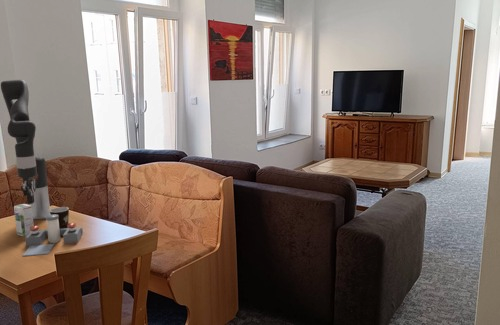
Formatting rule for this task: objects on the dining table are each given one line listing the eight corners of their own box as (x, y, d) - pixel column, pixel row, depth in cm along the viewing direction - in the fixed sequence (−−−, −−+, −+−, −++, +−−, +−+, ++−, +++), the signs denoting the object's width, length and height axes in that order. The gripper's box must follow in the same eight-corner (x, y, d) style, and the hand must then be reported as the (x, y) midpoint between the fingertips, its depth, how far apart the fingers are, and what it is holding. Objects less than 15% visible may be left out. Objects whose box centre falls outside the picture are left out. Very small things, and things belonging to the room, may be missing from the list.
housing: (34, 236, 188) (33, 228, 187) (82, 232, 192) (82, 225, 192) (26, 246, 177) (25, 237, 176) (77, 241, 181) (77, 233, 181)
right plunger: (69, 231, 185) (68, 223, 184) (77, 230, 186) (76, 222, 185) (67, 234, 182) (66, 225, 181) (75, 233, 183) (74, 225, 182)
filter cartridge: (50, 238, 185) (47, 214, 183) (62, 237, 186) (59, 214, 184) (46, 243, 180) (43, 218, 177) (59, 242, 181) (56, 217, 179)
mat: (30, 246, 176) (30, 245, 176) (54, 244, 179) (54, 243, 178) (22, 256, 167) (22, 255, 167) (47, 254, 169) (47, 253, 169)
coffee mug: (65, 224, 204) (63, 205, 202) (73, 227, 199) (71, 209, 197) (42, 230, 195) (40, 211, 193) (50, 234, 190) (48, 215, 188)
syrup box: (16, 234, 190) (12, 206, 187) (28, 230, 195) (24, 203, 192) (23, 237, 187) (20, 208, 184) (35, 232, 193) (31, 204, 190)
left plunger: (32, 234, 182) (31, 225, 181) (40, 233, 183) (39, 225, 182) (29, 237, 179) (28, 228, 178) (38, 236, 179) (37, 228, 179)
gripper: (22, 163, 180) (27, 199, 183) (11, 169, 167) (16, 208, 170) (40, 162, 181) (44, 198, 185) (30, 168, 168) (35, 207, 172)
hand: (31, 203), depth 177 cm, fingers closed
